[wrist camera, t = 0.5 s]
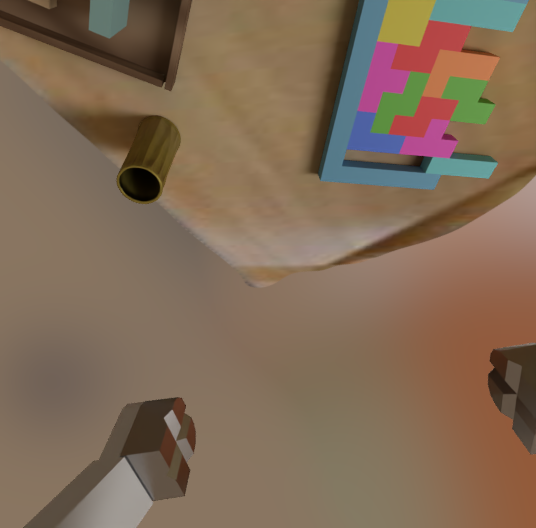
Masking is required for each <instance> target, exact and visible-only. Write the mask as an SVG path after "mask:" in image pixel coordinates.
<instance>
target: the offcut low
mask: <svg viewBox="0 0 536 528" xmlns="http://www.w3.org/2000/svg"><path fill="white" fill-rule="evenodd" d="M28 1H31V2H33V3H36V4H38V5H40V6H43V7H45V8H48V9H51V8H54V7H57V0H28Z"/></svg>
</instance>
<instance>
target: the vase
mask: <svg viewBox="0 0 536 528" xmlns="http://www.w3.org/2000/svg"><path fill="white" fill-rule="evenodd" d="M180 142H181V138H180V134H179V131H178V129H177V128H176V126H175V125H174V124H173V123H172V122H171V121H169V120H168V119H166V118H164V117H160V116H151V117H148V118H146V119H144V120H143V121H142V122H141V124H140V125H139V128H138V132H137V135H136V137H135V140H134V142H133V144H132V147H131V149H130V151H129V153H128V155H127V157H126V159H125V161H124V163H123V165H122V167H121V169H120V171H119V173H118V175H117V186H118V188H119V190H120V191H121V193H122V194H123V195H124V196H125V197H126V198H128V199H129V200H131V201H133V202H136V203H141V204H149V203H152V202H154V201H156V200H158V199H159V197H160V196H161V194H162V190H163V187H164V185H165V182H166V178H167V174H168V172H169V169H170V167H171V164H172V162H173V159H174V157H175V154H176V152H177V150H178V148H179V146H180Z"/></svg>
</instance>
